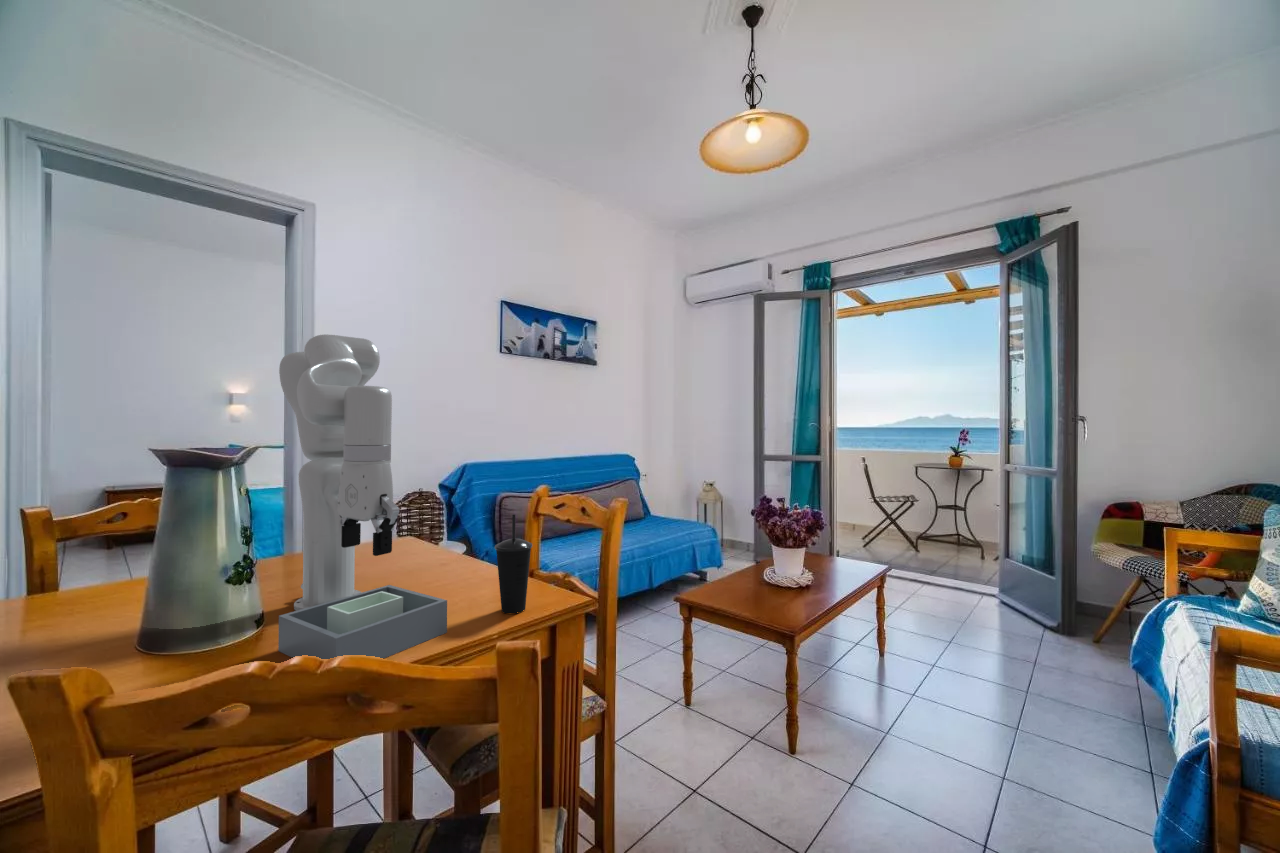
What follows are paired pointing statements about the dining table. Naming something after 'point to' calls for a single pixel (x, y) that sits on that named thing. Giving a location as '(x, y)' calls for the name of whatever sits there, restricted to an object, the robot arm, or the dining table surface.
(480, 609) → the dining table surface
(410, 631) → the big crate
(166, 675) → the dining table surface
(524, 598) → the drinking cup
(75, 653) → the dining table surface
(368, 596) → the block
